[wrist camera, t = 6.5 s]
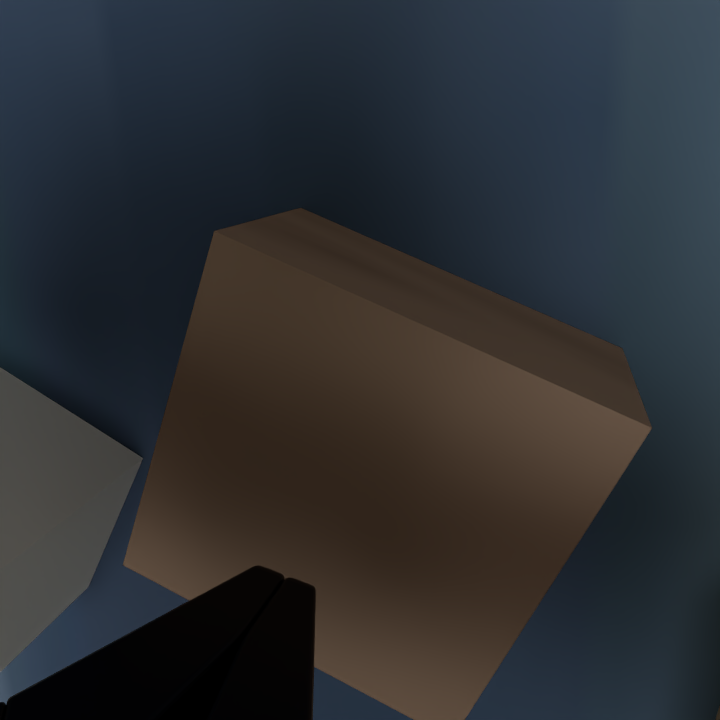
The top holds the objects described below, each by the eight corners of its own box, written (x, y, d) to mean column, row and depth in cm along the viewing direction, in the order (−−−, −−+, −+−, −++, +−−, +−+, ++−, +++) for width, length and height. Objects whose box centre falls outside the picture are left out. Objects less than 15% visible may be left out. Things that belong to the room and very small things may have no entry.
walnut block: (474, 597, 15) (451, 739, 12) (218, 469, 16) (122, 565, 13) (620, 344, 13) (651, 427, 9) (304, 206, 13) (213, 230, 10)
